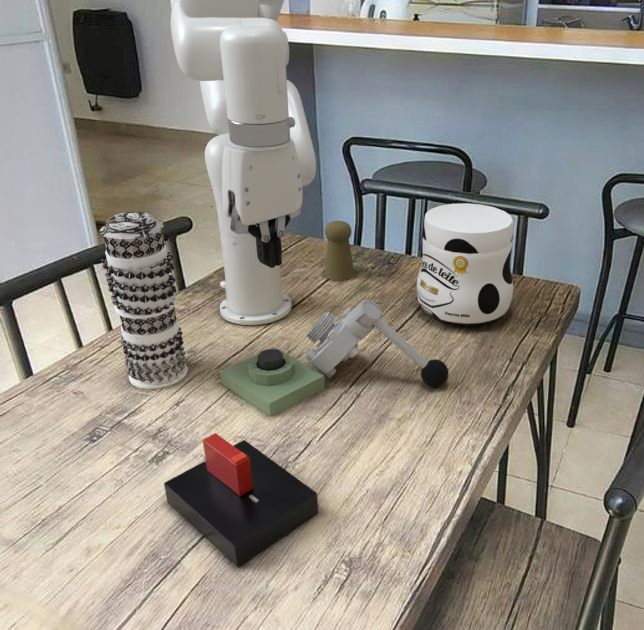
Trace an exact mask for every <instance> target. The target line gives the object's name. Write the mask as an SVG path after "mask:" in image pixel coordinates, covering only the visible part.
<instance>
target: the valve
mask: <svg viewBox="0 0 644 630" xmlns="http://www.w3.org/2000/svg"><path fill="white" fill-rule="evenodd" d="M383 317H384V315H383V311H382V310H381V307H380V306H379V305H378V304H377V303H376V302H374V301H372V300H370V299H363V300H362V301H361V302H359V303H358V304H357V305H356V306H355V308H353V309H352V308H350V307H347V308H346V309H345V310H344V311H343V312H342V315H341V318H342V319H340V321H339V322H337V323H336V324H335V321H336V316H334V314H332V313H330V311H326V312H325V313H324V314H322V316H320V317H319V319H318V320H316V322H315V323H314V324H313V325H312V326H311V328H310V329H309V330H308V331H307V333H306V334H305V336H304V337H305V338H307V339H308V341H310V342H311V343H312V344H315V343H316V342H318V341H319V343H318V345H317V347H316V348H315V349H314V348H312V349H310V350H309V351H308V352H307V354H306V355H305V356H304V357H305V358H304V359H305V360H306V361H307V362H308V363H309V364H310V365H312V367H314V368H315V370H317V371H318V372H319V373H321V374H323V375H324V376H326V377H327V378H328V379H331V378H332V377H333V376H334V375H335V374H336V372H337V368H335V367H336V366H338V365H339V364H340V363H341V362H346V361H347V360H348V359H349V358H351V359H352V358H354V357H355V356H357V354H358V353H359V351H360V349H359V348H358V346H359V345H358V342H359V341H362V340H363V339H364V338H366V337H367V336H368V335H369V334H370V333H371V332H372V331H373V330H374V329H375V328H376V330H378V331H379V332H380V333H381V334H383V335H384V337H386V338H387V339H388V340H389V341H390V342H392V343H393V344H394V345H395V346H396V347H397V348H398V349H399V350H400V351H402V353H404V354H405V355H406V356H407V357H408V358H409V359H410V360H411V361H413V362H414V363H415V364H416V365H417V366H418V367H420V368H421V369H420V377H421V380H422V382H423V383H424V384H425V385H426V386H427V387H431V388H439V387H441V386H443V385H445V384H446V383H447V381H448V379H449V374H450V373H449V368H448V366H447V365H446V363H445V362H443V361H442V360H440V359H436V358H435V359H430V360H428V359H427V358H426V357H424V356H423V354H421V353H420V352H419V351H417V349H415V348H414V347H413V346H412V345H411V344H410V343H409V342H408V341H407V340H405V339H404V338H403V337H402V336H401V335H400V334H399V333H398V332H397V331H396V330H394V328H392V327H391V326H390V325H389V324H387V322H385V320H383V319H382V318H383Z"/></svg>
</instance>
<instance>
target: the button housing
mask: <svg viewBox="0 0 644 630" xmlns="http://www.w3.org/2000/svg"><path fill="white" fill-rule="evenodd" d="M270 349H277V350H280V351H281V352H282V353H283V362H284V365H283V367H281V368H279V369H277V370H272V371H266V370H261V369H260V368H259V365H258V354H259V353H257V354H255V355H253V356H250V357H248V358H246V359H244V360H241V361H239V362H237V363H234V364H232V365H230V366H228V367H225V368H224V369H221V370H219V377H220V384H221V385H223V386H224V387H226V388H227V389H228V390H230V391H232V393H233V392H234V393H235V394H236V395H238V396H239V397H240V398H242V399H243V400H245V401H247V402H248V403H250V404H251V405H253V406H254V407H255V408H257V409H258V410H260V411H261V412H263V413H264V414H266V415H267V416H269V417H272V416H274V415H276V414H278V413H280V412H282V411H284V410H285V409H288V408H289V407H291V406H293V405H296V404H297V403H299V402H301V401H303V400H305V399H306V398H309V397H310V396H312V395H314V394H316V393H319V391H322V390H323V389H325V388H326V380H325V374H324V375H323V374H322V373H321V372H320V371H318V370H317V369H314V368H312V367H310V366H309V365H307V364H305V363H304V362H302V361H301V360H298V359H296V358H295V357H294V356H291V355H290V354H288V353H286V352H284V351H282V350H281V349H279V348H277V347H275V346H273V347H271V348H270Z"/></svg>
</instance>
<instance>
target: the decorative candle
mask: <svg viewBox="0 0 644 630" xmlns="http://www.w3.org/2000/svg"><path fill="white" fill-rule="evenodd" d="M163 228H164V224H163V222H162V221H160V220H157V219H156V218H155V217H154V216H153V215H152V214H150V213H147V212H144V211H126V212H121V213H116V214H114V215H112V216H111V217H109V218H108V219H107V221H106V222H105V225H103V226H102V227H101V228H100V229H99V234H100V236H102V237H103V241H104V245H105V248H106V249H105V252H104V253H105V256H103V258H102V259H101V263H102V268H103V269H104V270H106V272H105V273H104V277H106V282H107V286H108V292H110V293H111V294H112V295H111V296H110V298H111V300H112V302H111V303H112V305H113V306H114V307H113V308H114V310H115V313H116V315H118V316H119V319H120V323H121V325H120V332H121V337H120V343H121V345H122V349H123V351H122V353H123V354H124V355H125V356H124V364H125V365H126V373H127V375H128V379H129V383H130V384H131V385H133V386H135V387H136V388H140V389H144V390H145V389H146V390H154V389H155V390H156V389H162V388H166V387H170V386H172V385H174V384H176V383H178V382H180V381H182V379H184V378H185V376H187V373H188V370H189V367H188V366H187V363H188V361H187V360H186V351H185V346H183V345H184V340H183V338H184V337H183V331H182V327H180V325H179V319H178V316H177V313H176V308H175V307H176V306H177V304H178V299H177V298H176V295H175V294H176V293H177V287H176V285H174V284H175V283H176V281H177V280H176V278H175V277H174V275H172V272H173V271H174V270H175V265H174V264H173V263H172V260H174V255H173V254H172V253H171V252H170V251H168V248H167V245H166V244H165V238H164V232H163Z"/></svg>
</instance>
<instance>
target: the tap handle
mask: <svg viewBox="0 0 644 630" xmlns="http://www.w3.org/2000/svg"><path fill="white" fill-rule="evenodd" d="M202 445H203V451H204V452H203V453H204V458H205V459H206V465H207V470H208V471H209V472H210V473H211V474H213V475H214V476H215V477H216V478H218V479H219V480H220V481H221V482H223V483H224V484H225V485H226V486H228V487H229V488H230V489H232V490H233V491H234V492H235V493H237V494H238V495H239V496H242V495H243V494H245V493H246V492H248V491H250V490H251V489H253V484H252V475H251V467H250V458H249V457H248V456H247V455H246V454H244V453H243V452H241V451H240V450H238V449H237V448H235V447H234V444H231V443H230V442H229V441H228V440H226V439H224V438H223V437H222V436H220V435H219V434H218V433H215V432H214V433H213V434H211V435H209V436H208V437H206V438H203V439H202Z"/></svg>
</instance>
